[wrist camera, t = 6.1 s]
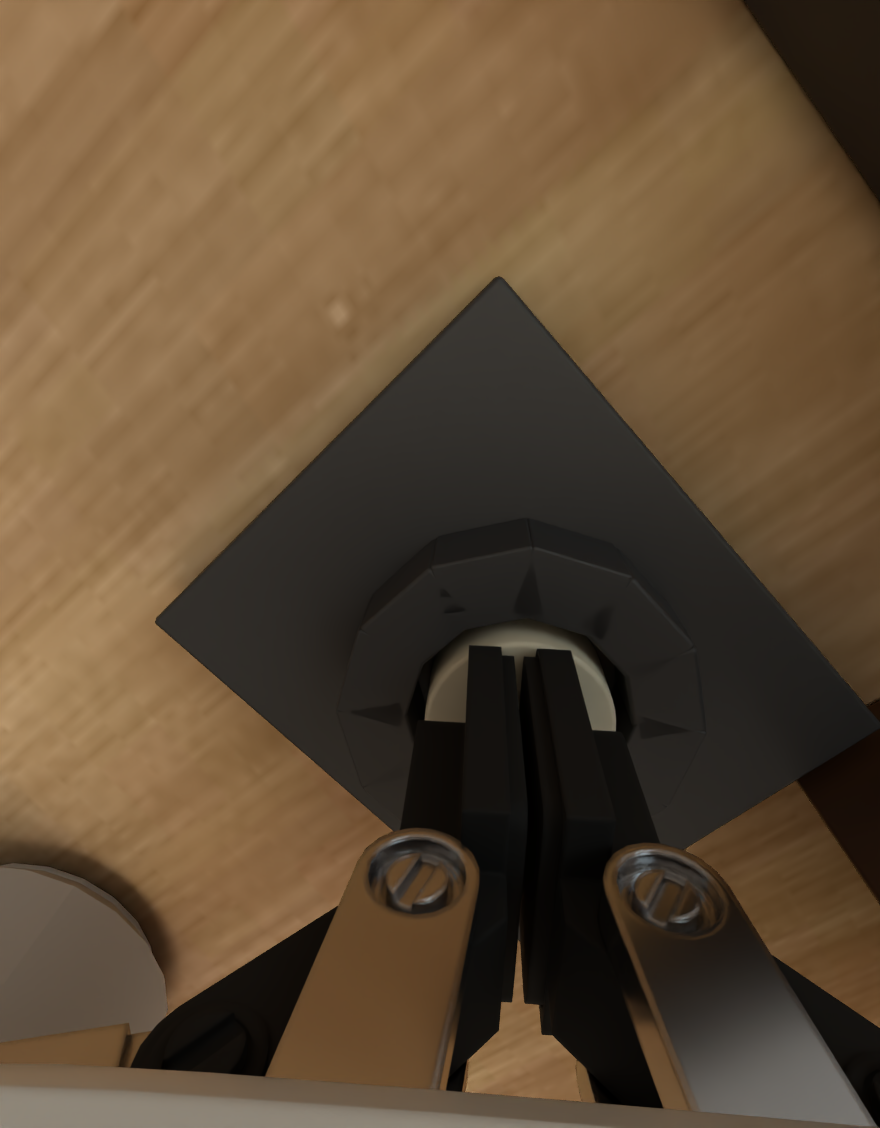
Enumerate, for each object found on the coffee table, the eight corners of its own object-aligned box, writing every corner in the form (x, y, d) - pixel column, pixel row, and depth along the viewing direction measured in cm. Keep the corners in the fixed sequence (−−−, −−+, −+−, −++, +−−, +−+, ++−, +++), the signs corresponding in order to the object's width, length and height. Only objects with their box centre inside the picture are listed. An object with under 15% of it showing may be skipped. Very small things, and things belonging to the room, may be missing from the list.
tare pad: (847, 689, 14) (938, 783, 11) (522, 898, 17) (530, 1017, 14) (497, 277, 12) (501, 265, 9) (181, 594, 14) (107, 662, 11)
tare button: (636, 688, 12) (657, 736, 11) (508, 780, 13) (511, 836, 12) (524, 569, 12) (529, 604, 10) (396, 674, 13) (384, 721, 11)
